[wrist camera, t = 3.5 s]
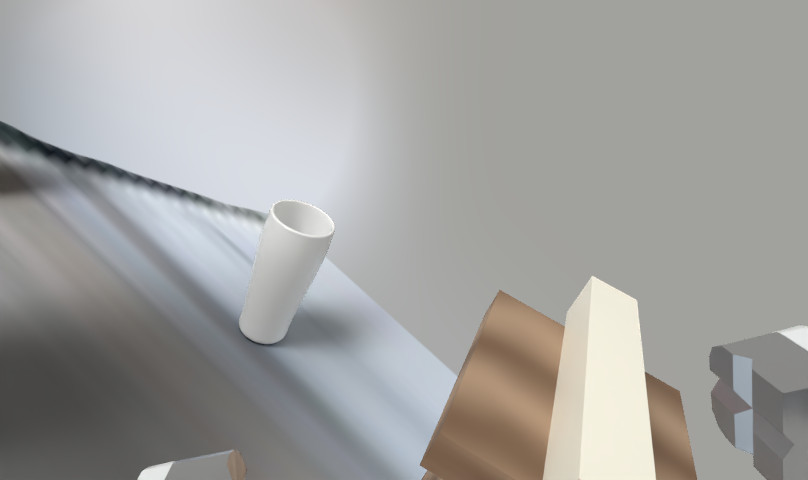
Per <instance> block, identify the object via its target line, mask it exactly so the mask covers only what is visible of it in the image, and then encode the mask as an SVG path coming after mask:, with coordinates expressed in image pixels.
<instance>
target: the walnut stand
mask: <svg viewBox="0 0 808 480" xmlns="http://www.w3.org/2000/svg"><path fill="white" fill-rule="evenodd" d="M564 330H565V327H564V326H563V325H561V324H559V323H557V322H555V321H554V320H552V319H550V318H548V317H547V316H545V315H543V314H541V313H540V312H538V311H536V310H534V309H532V308H531V307H529V306H527V305H525V304H524V303H522V302H520V301H518V300H517V299H515V298H513V297H511V296H509V295H508V294H506V293H504V292H502V291H501V290H499V292H498V294H497V296H496V297H495V299H494V300H493V302H492V304H491V306H490V307H489V309H488V310H487V312H486V314H485V316H484V318H483V320H482V323H481V325H480V327H479V329H478V332H477V334H476V336H475V339H474V341H473V343H472V346H471V348H470V350H469V353H468V355H467V357H466V359H465V362H464V364H463V366H462V369H461V371H460V373H459V376H458V378H457V380H456V383H455V385H454V387H453V389H452V392H451V394H450V396H449V399H448V401H447V403H446V406H445V408H444V410H443V413H442V415H441V417H440V419H439V422H438V424H437V426H436V429H435V431H434V433H433V436H432V438H431V440H430V443H429V445H428V447H427V449H426V452H425V454H424V456H423V459H422V461H421V463H420V466H422V467H424V468H425V469H427V472H426V473H425V475H424V477H423V478H422V480H543V474H544V467H545V460H546V454H547V447H548V440H549V433H550V426H551V419H552V412H553V406H554V399H555V392H556V385H557V378H558V371H559V364H560V358H561V351H562V344H563V337H564ZM645 381H646V390H647V400H648V409H649V418H650V428H651V437H652V447H653V456H654V465H655V475H656V480H697V477H696V472H695V467H694V462H693V457H692V452H691V447H690V441H689V436H688V431H687V426H686V422H685V416H684V411H683V406H682V401H681V396H680V392H679V391H678V390H676V389H674V388H673V387H671V386H669V385H667V384H666V383H664V382H662V381H660V380H659V379H657V378H655V377H653V376H651V375H650V374H648V373H646V372H645Z"/></svg>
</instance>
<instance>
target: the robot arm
mask: <svg viewBox="0 0 808 480" xmlns="http://www.w3.org/2000/svg"><path fill="white" fill-rule="evenodd" d="M709 357H710V370H711V371H712V372H713V373H714V374H715V375H716V376H717V377H718V378H719V380H718V382H717V383H716V385H715V386H714V388H713V390H712V391H711V399H712V410H713V412H714V415H715V418H716V421H717V423H718V426H719V428H720V429H721V431H722V432H723V434H724V435H725V437H726V438H727V439H728V440H729V441H730V442H731V443H732V445H733V446H735V448H738V449H740V450H743V451H745V452H748V453H750V454H753V455H754V456H753V458H754V467H755V468H756V469H757V470H758V471H759V472H760V473H761V474H762V475H763V476H764V477H765V478H766V479H767V480H808V327H807V326H801V325H800V326H796V327H792V328H788V329H784V330H780V331H776V332H772V333H770V334H766V335H762V336H757V337H753V338H749V339H745V340H741V341H736V342H732V343H728V344H723V345H719V346H715V347H712V350H711V353H710V356H709ZM246 470H247V469H246V467H245V464H244V461H243V459H242V456H241V454H240V453H239V452H238V451H236V450H235V449H234V450H229V451H224V452H219V453H214V454H209V455H204V456H198V457H193V458H188V459H183V460H178V461H172V462H168V463H163V464H159V465H154V466H150V467H148V468H146V469H144V470H143V471H142V472H141V474H140V476H139V477H138V479H137V480H244V477H245V474H246Z"/></svg>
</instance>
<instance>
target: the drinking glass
mask: <svg viewBox="0 0 808 480" xmlns="http://www.w3.org/2000/svg"><path fill="white" fill-rule="evenodd" d="M334 231H335V225H334V222H333V221H332V219H331V218H330V217H329V216H328V215H327V214H326V213H324V212H323V211H322V210H320V209H318V208H317V207H314V206H313V205H310V204H307V203H305V202H301V201H296V200H282V201H278V202H276V203H274V204H273V205H272V206H271V209H270V211H269V214H268V216H267V218H266V221H265V224H264V226H263V229H262V232H261V235H260V239H259V242H258V246H257V250H256V254H255V259H254V263H253V268H252V272H251V276H250V280H249V285H248V289H247V293H246V297H245V301H244V305H243V309H242V312H241V315H240V318H239V327H240V330H241V331H242V333H243V334H244V335H245V336H246V337H247V338H249V339H250V340H252V341H254V342H257V343H261V344H273V343H276V342H278V341H280V340H282V339H283V338H284V336H285V335H286V333H287V331H288V328H289V326H290V323H291V321H292V319H293V317H294V316H295V314H296V312H297V310H298V308H299V306H300V304H301V302H302V300H303V298H304V297H305V295H306V293H307V291H308V289H309V287H310V285H311V283H312V282H313V280H314V278H315V276H316V274H317V272H318V270H319V268H320V266H321V264H322V262H323V260H324V258H325V255H326V253H327V250H328V248H329V246H330V243H331V240H332V237H333V234H334Z"/></svg>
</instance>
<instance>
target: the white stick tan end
mask: <svg viewBox="0 0 808 480" xmlns="http://www.w3.org/2000/svg"><path fill="white" fill-rule="evenodd" d="M543 480H656V475H655V465H654V456H653V447H652V437H651V428H650V418H649V409H648V400H647V390H646V381H645V371H644V362H643V353H642V343H641V334H640V324H639V315H638V305H637V300H635V299H634V298H632V297H630V296H628V295H626V294H625V293H623V292H621V291H619V290H617V289H615V288H614V287H612V286H610V285H608V284H606V283H604V282H603V281H601V280H599V279H597V278H595V277H593V276H592V277H591V278H590V280H589V281H588V283H587V284H586V286H585V287H584V289H583V290H582V291H581V293H580V294H579V296H578V298H577V299H576V300H575V302H574V303H573V305H572V306H571V307H570V309H569V310H568V312H567V317H566V323H565V330H564V337H563V344H562V351H561V358H560V364H559V371H558V378H557V385H556V392H555V399H554V406H553V412H552V419H551V426H550V433H549V440H548V447H547V454H546V460H545V467H544V474H543Z"/></svg>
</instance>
